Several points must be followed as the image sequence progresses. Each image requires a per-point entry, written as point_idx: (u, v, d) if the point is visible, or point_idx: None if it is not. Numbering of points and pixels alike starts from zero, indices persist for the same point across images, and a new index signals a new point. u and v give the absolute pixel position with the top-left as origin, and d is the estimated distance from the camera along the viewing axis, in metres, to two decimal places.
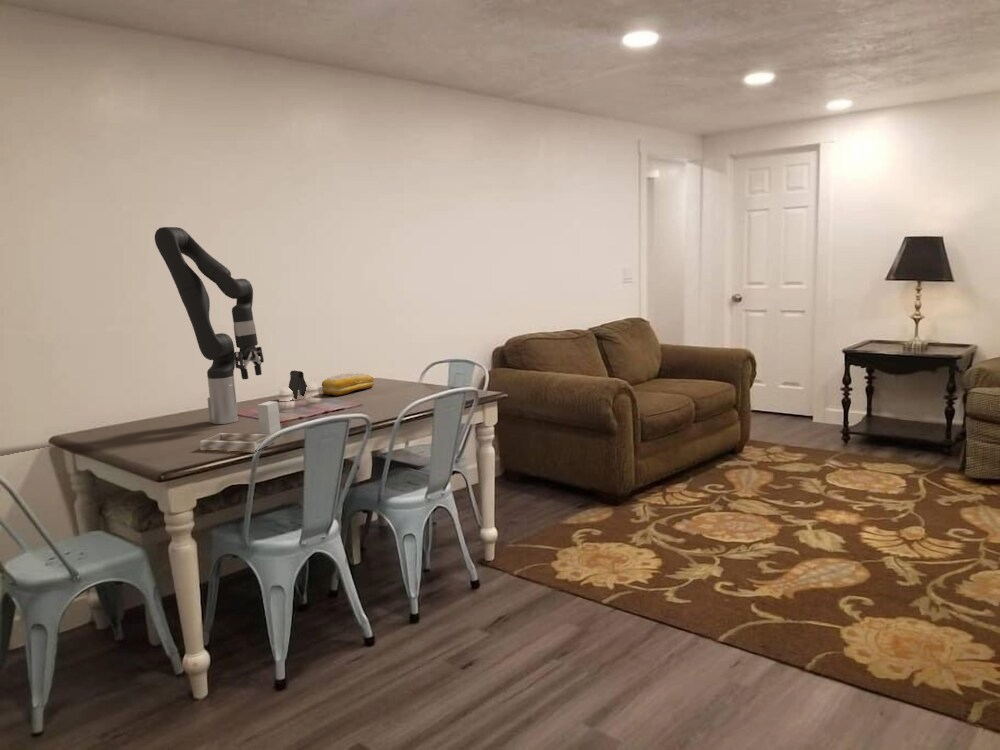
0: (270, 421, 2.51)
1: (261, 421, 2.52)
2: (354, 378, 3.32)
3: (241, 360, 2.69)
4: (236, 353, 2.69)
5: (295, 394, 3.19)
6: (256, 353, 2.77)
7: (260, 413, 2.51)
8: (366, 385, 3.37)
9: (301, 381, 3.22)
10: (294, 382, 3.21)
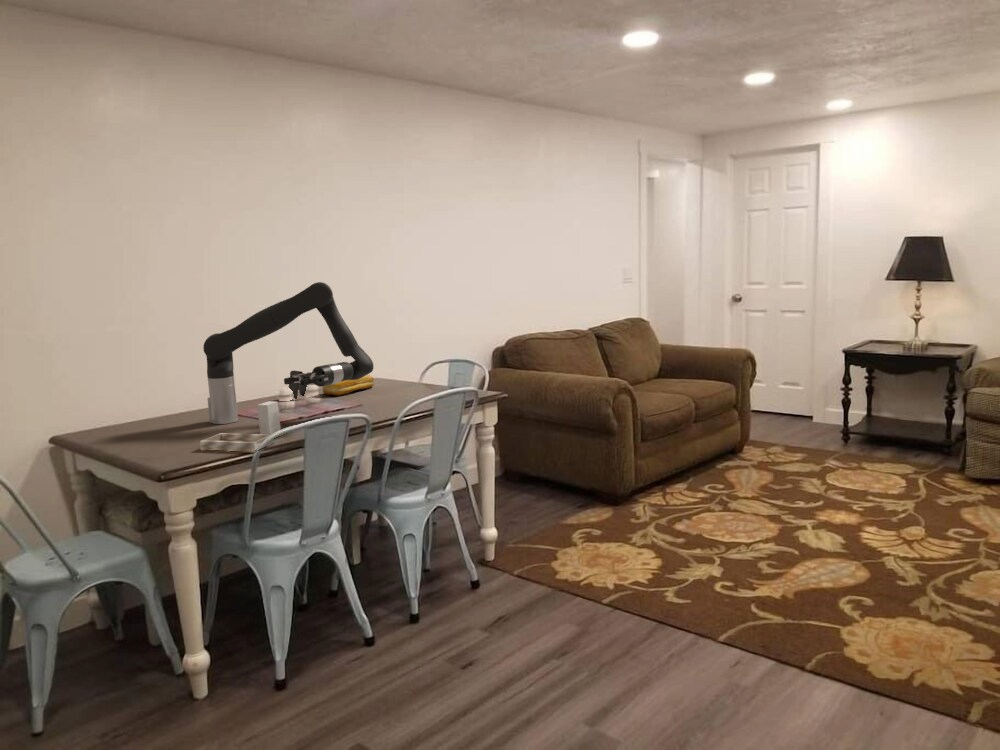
0: (270, 421, 2.51)
1: (261, 421, 2.52)
2: None
3: None
4: (327, 378, 2.65)
5: (295, 394, 3.19)
6: None
7: (260, 413, 2.51)
8: (366, 385, 3.37)
9: None
10: None
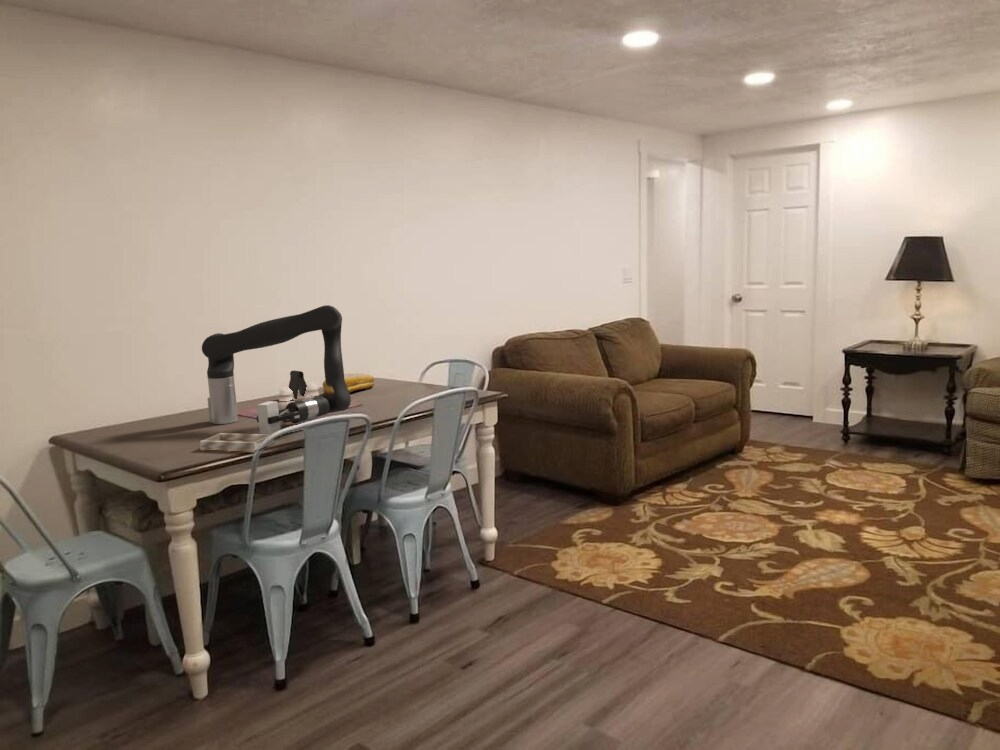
0: None
1: (261, 421, 2.52)
2: (355, 378, 3.32)
3: (290, 421, 2.55)
4: (298, 415, 2.56)
5: (295, 394, 3.19)
6: None
7: (260, 413, 2.51)
8: (367, 385, 3.37)
9: (301, 381, 3.22)
10: (294, 382, 3.21)
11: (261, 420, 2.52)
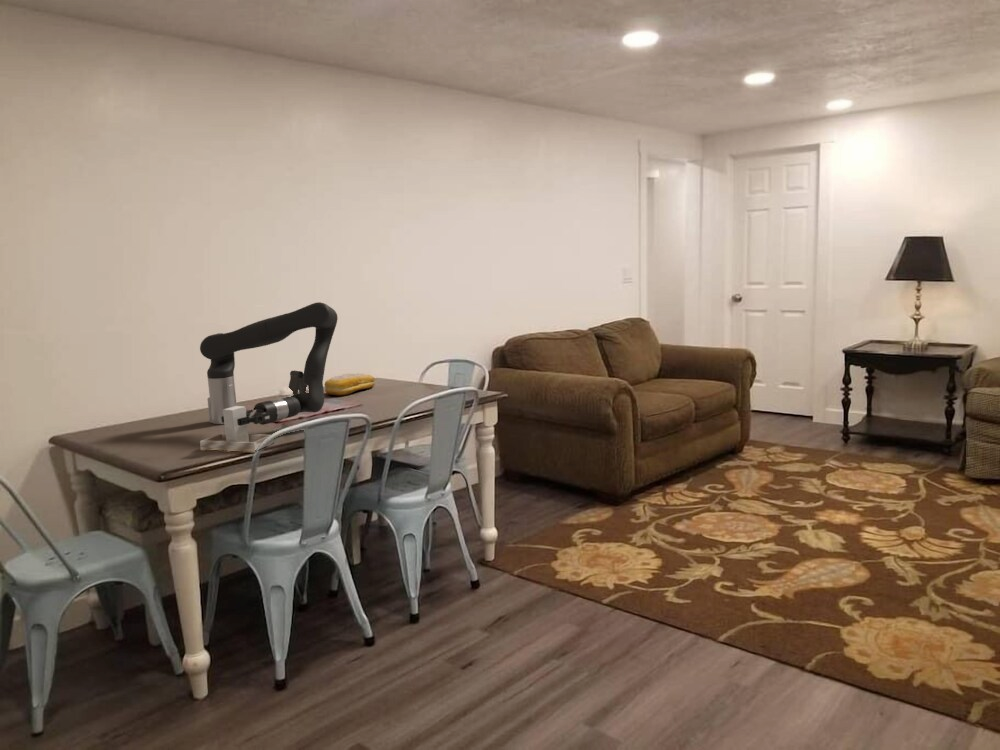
0: (235, 427, 2.40)
1: (227, 427, 2.41)
2: (357, 378, 3.32)
3: (261, 422, 2.43)
4: (268, 416, 2.45)
5: None
6: None
7: (225, 418, 2.40)
8: (368, 385, 3.37)
9: (301, 381, 3.22)
10: (294, 382, 3.21)
11: (227, 426, 2.41)
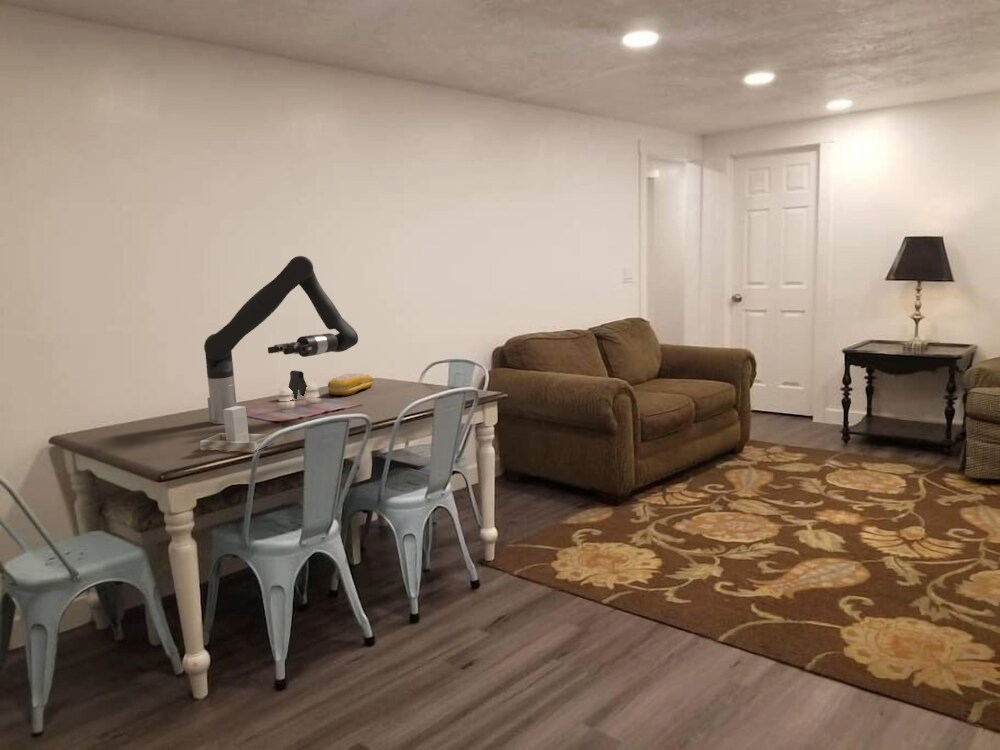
0: (235, 427, 2.40)
1: (227, 427, 2.41)
2: (359, 378, 3.32)
3: (304, 352, 2.65)
4: (311, 347, 2.67)
5: (295, 394, 3.19)
6: None
7: (226, 418, 2.40)
8: (368, 384, 3.38)
9: (301, 381, 3.22)
10: (294, 382, 3.21)
11: (227, 426, 2.41)
